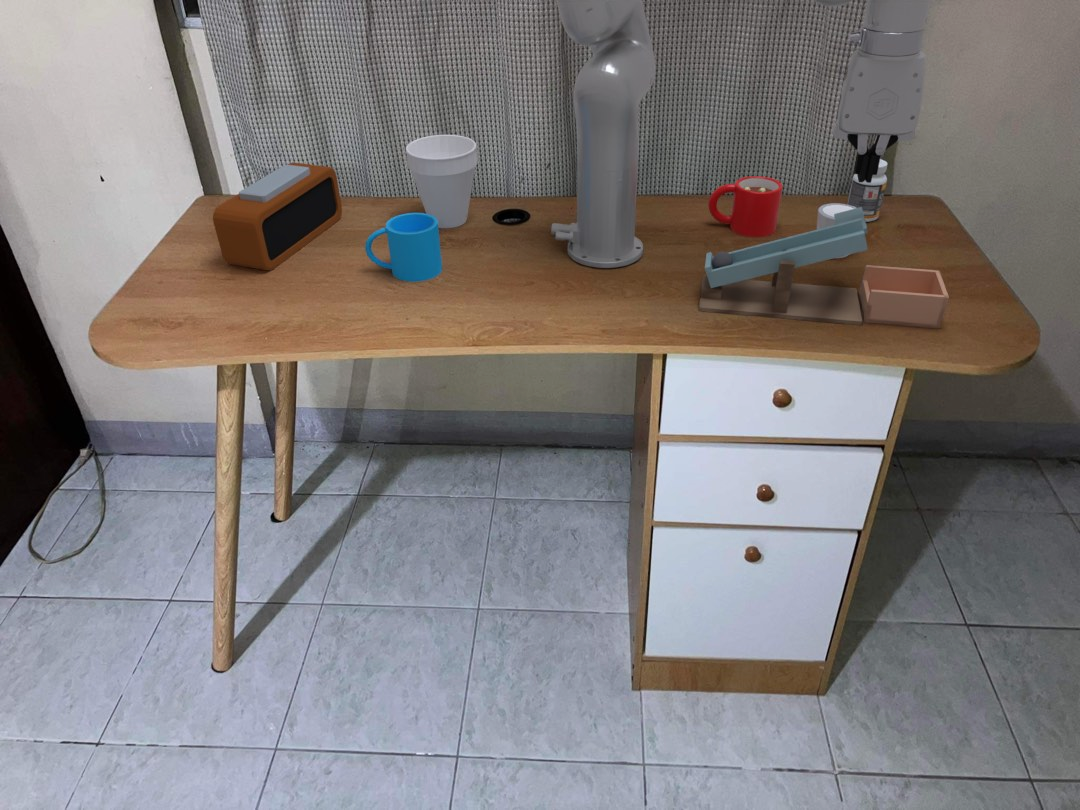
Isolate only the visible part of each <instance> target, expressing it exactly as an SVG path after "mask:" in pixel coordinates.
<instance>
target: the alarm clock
mask: <svg viewBox="0 0 1080 810" xmlns="http://www.w3.org/2000/svg"><path fill="white" fill-rule="evenodd" d="M338 183H339V182H338V176H337V172H336V170H335V169H334V168H333V167H331V166H324V165H319V164H318V165H317V164H308V163H301V162H289V163H288V164H283V165H282V166H280V167H279V168H277V169H276V170H274V171H272V172H270V173H268V174H267V175H265V176H264V177H262V178H260V179H258V180H257V181H255V182H253V183H252V184H250V185H249V186H247V187H245V188H244V189H241V190H240V191H238V193H237V194H236V195H233V196H232V197H231V198H230V199H228V200H226V201H224V202H222V203H221V204H218V206H217V207H215V208H214V211H213V215H212V221H213V222H212V223H213V226H214V229H215V233H216V238H217V240H218V245H219V248H220V252H221V256H222V258H223V260H224V261H225V263H226V264H229V265H233V266H239V267H245V268H252V269H257V270H263V271H267V272H269V271H270V272H271V271H272V270H275V269H276V268H278V267H279V266H280V265H282V264H283V263H284V262H286V261H288V259H290V258H291V257H292V256H294V255H295V254H296V253H297V252H299V251H300V250H301V249H303V248H305V247H306V246H308V244H310V243H311V242H313V240H315V239H316V238H318V237H319V236H320V235H322V234H323V233H324V232H326V231H327V230H328V229H330V228H331V227H332V226H334V225H335V224H336V223H338V222H339V221H340V220H341V217H342V216H343V215H342V213H343V207H342V201H341V195H340V189H339V184H338Z"/></svg>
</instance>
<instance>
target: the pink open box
mask: <svg viewBox="0 0 1080 810" xmlns="http://www.w3.org/2000/svg"><path fill="white" fill-rule="evenodd" d="M942 277H943V276H942V274H941V271H940V270H939V269H937V270H936V269H924V268H909V267H899V266H898V267H896V266H885V265H871V264H870V265H869V264H865V267H864V270H863V276H862V278H861V279H862V280H861V284H860V287H859V293H858V300H859V305H860V310H861V316H862V321H863V322H864V323H869V324H878V325H879V324H880V325H890V326H891V325H892V326H903V327H914V328H915V327H916V328H927V329H937V330H939V329H941V325H942V321H943V318H944V316H945V313H946V310H947V306H948V303H949V299H950V296H949V294H948V291H947V289H946V288H947V287H946V285H945V283H944V280H943V278H942Z"/></svg>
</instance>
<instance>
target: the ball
mask: <svg viewBox="0 0 1080 810" xmlns="http://www.w3.org/2000/svg"><path fill="white" fill-rule="evenodd" d="M713 256H714V257H713V260H712V265H713V267H714V269H717V268H721V267H725V266H729V265H733V259H732V256H731V255H730V254H729V252H727V251H719V252H717V253H715V255H713Z"/></svg>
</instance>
